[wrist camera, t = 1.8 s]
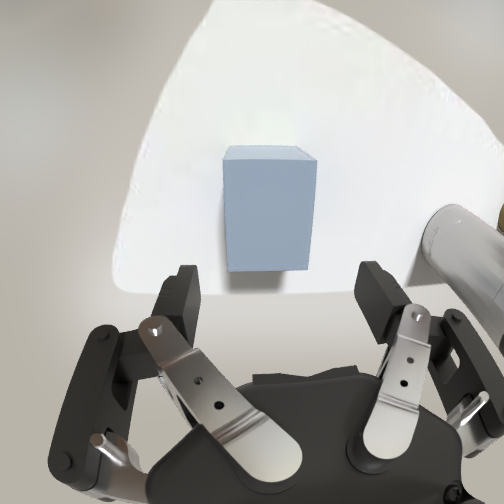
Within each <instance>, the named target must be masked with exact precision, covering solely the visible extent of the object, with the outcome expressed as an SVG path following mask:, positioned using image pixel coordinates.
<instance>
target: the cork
mask: <svg viewBox="0 0 504 504" xmlns="http://www.w3.org/2000/svg"><path fill="white" fill-rule="evenodd" d="M499 228H500V230H501V231H503V232H504V204H503V206H502V208H501V211H500V215H499Z"/></svg>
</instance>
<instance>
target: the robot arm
mask: <svg viewBox="0 0 504 504" xmlns="http://www.w3.org/2000/svg"><path fill="white" fill-rule="evenodd" d="M422 251H423V255H424V257H425V259H426V260H427V262H428V263H429V264H430V265H431V266H432V267H433V268H434V269H435V270H436V271H437V273H438V274H439V275H440V276H441V277H442V278H443V279H444V281H445V282H446V283H447V284H448V285H449V286H450V287H451V289H452V290H453V291H454V292H455V293H456V294H457V296H458V297H459V298H460V299H461V300H462V302H463V303H464V304H465V305H466V306H467V308H468V309H469V310H470V312H471V313H472V314H473V315H474V317H475V318H476V319H477V320H478V322H479V323H480V324H481V326H482V327H483V328H484V330H485V331H486V332H487V334H488V335H489V337H490V338H491V339H492V341H493V342H494V344H495V345H496V346H497V348H498V349H499V350H500V352H501V354H502V355H503V357H504V236H503V235H502V234H501V233H499V232H498V231H497V230H495V229H494V228H493V227H491V226H490V225H489V224H487V223H486V222H484V221H483V220H481V219H480V218H479V217H477V216H476V215H474V214H473V213H471V212H470V211H468V210H467V209H465V208H463V207H462V206H460V205H457V204H450V205H447V206H445V207H443V208H441V209H440V210H439V211H438V212H437V213H436V214H435V215H434V216H433V217H432V219H431V220H430V221H429V223H428V225H427V227H426V229H425V232H424V235H423V240H422ZM354 295H355V298H356V301H357V303H358V305H359V307H360V309H361V310H362V313H363V315H364V317H365V319H366V320H367V323H368V325H369V327H370V329H371V331H372V333H373V335H374V337H375V339H376V341H377V343H378V344H384V343H387V344H388V347H387V349H386V351H385V354H384V357H383V360H382V362H381V365H380V368H379V370H378V373H377V375H376V376H373V375H370V374H366V373H360V372H359V371H358V369H357V366H356V365H354V366H348V367H340V368H333V369H330V370H327V371H324V372H322V373H319V374H315V375H313V376H309V377H304V376H295V375H288V374H281V373H278V374H277V373H276V374H253V382H251V383H247V384H244V385H242V386H239V387H237V388H235V387H234V386H233V385H232V384H231V383H230V382H229V381H228V380H227V379H226V378H225V377H224V376H223V375H222V374H221V373H220V372H219V371H218V369H217V368H216V367H215V366H214V365H213V364H212V362H210V360H209V359H208V358H207V357H206V356H205V355H204V353H203V352H202V351H201V350H200V349H199V348H195V349H193V343H194V338H195V331H196V326H197V320H198V314H199V308H200V301H201V294H200V286H199V278H198V270H197V266H196V265H181V266H180V268H179V271H178V274H177V276H169V277H168V278H167V279H166V280H165V281H164V282H163V285H162V287H161V291H160V293H159V297H158V298H157V301H156V303H155V306H154V309H153V311H152V314H151V317H148V318H146V319H145V320H143V321H142V322H141V323H140V325H139V327H138V329H136V330H132V331H127V332H122V333H119V331H118V329H117V328H116V327H115V326H113V325H101V326H99V327H97V328H95V329H94V330H93V331H92V332H91V333H90V334H89V337H88V339H87V341H86V344H85V346H84V348H83V351H82V353H81V356H80V358H79V361H78V363H77V366H76V368H75V371H74V374H73V376H72V379H71V382H70V384H69V387H68V390H67V393H66V396H65V399H64V402H63V405H62V408H61V412H60V415H59V418H58V422H57V425H56V428H55V432H54V435H53V440H52V443H51V447H50V451H49V456H48V467H49V470H50V472H51V474H52V475H53V476H54V477H55V478H56V479H57V480H59V481H60V482H62V483H64V484H66V485H68V486H70V487H71V488H72V489H74V490H76V491H78V492H80V493H83V494H85V495H87V496H89V497H92V498H97V499H99V500H101V501H105V502H112V501H115V500H119V501H124V502H128V503H133V504H485V503H484V502H482V501H480V500H478V499H476V498H474V497H473V496H471V495H470V494H469V493H468V492H467V491H466V490H465V489H464V487H463V484H462V481H461V460H462V457H466V458H473V457H475V456H476V455H477V454H479V453H480V452H482V451H483V450H484V449H486V448H487V447H488V446H490V445H491V444H493V443H494V442H495V441H497V440H498V439H499V438H500V437H502V436H503V435H504V377H503V375H502V373H501V371H500V370H499V368H498V366H497V364H496V363H495V361H494V359H493V357H492V356H491V354H490V353H489V351H488V349H487V348H486V346H485V344H484V343H483V341H482V339H481V338H480V336H479V335H478V333H477V332H476V331H475V329H474V327H473V326H472V325H471V323H470V321H469V320H468V319H467V317H466V316H465V315H464V314H463V313H462V312H461V311H459V310H456V309H448V310H446V311H445V313H444V315H443V317H436V316H431V315H430V313H429V311H428V310H427V309H426V308H424V307H423V306H421V305H418V304H413V303H412V302H411V301H410V300H409V298H408V297H407V295H406V294H405V292H404V291H403V289H402V288H401V287H400V285H399V284H398V283H397V281H396V280H395V278H394V277H393V276H392V275H391V274H389V273H388V272H387V271H385V270H383V269H382V268H381V267H380V265H379V264H378V263H377V262H376V261H362V262H361V263H360V266H359V270H358V275H357V279H356V283H355V288H354ZM453 349H455V351H456V353H457V355H458V357H459V359H460V366H459V368H457V366H456V365H455V363H454V361H453V359H452V357H451V355H450V354H451V352H452V350H453ZM427 368H428V370H429V372H430V375H431V377H432V379H433V381H434V384H435V386H436V389H437V391H438V393H439V396H440V398H441V400H442V403H443V406H444V408H445V411H446V413H447V422H446V421H444V420H442V419H441V418H439V417H438V416H436V415H435V414H433V413H431V412H430V411H428V410H427V409H425V408H424V407H422V406H421V405H419V402H420V398H421V394H422V390H423V386H424V382H425V377H426V372H427ZM156 376H157V378H158V379H159V381H160V383H161V384H162V386H163V387H164V389H165V390H166V392H167V393H168V395H169V396H170V398H171V399H172V401H173V402H174V404H175V405H176V407H177V408H178V410H179V412H180V413H181V415H182V416H183V418H184V419H185V421H186V422H187V424H188V425H189V426H190V428H191V429H192V430H191V431H190V432H189V433H188V434H187V435H186V436H185V437H184V438H183V439H182V440H181V441H180V442H179V443H178V444H177V445H175V446H174V447H173V448H172V449H171V450H170V451H169V452H168V453H167V454H166V455H165V456H164V457H162V458H161V459H160V460H159V461H158V462H157V463H156V464H155V465H154V466H153V467H152V469H151V470H150V471H149V473H148V474H146V473H143V472H142V470H141V468H140V464H139V456H138V454H137V452H136V451H135V450H134V449H133V448H132V447H131V446H130V445H129V444H128V443H127V441H128V434H129V428H130V421H131V416H132V410H133V404H134V399H135V394H136V389H137V384H138V380H140V379H146V378H151V377H156Z"/></svg>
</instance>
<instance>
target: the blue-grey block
mask: <svg viewBox="0 0 504 504" xmlns="http://www.w3.org/2000/svg"><path fill="white" fill-rule="evenodd" d="M316 172H317V160H316V159H314V158H313V157H311V156H310V155H309V154H307V153H306V152H304V151H303V150H301V149H300V148H298V147H297V146H229V148H228V150H227V152H226V154H225V156H224V158H223V182H224V206H225V228H226V247H227V265H228V272H236V271H291V270H308V262H309V253H310V244H311V234H312V223H313V212H314V200H315V187H316Z"/></svg>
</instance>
